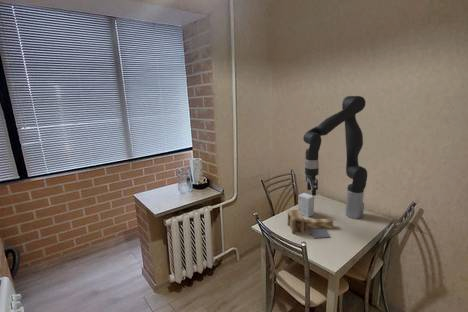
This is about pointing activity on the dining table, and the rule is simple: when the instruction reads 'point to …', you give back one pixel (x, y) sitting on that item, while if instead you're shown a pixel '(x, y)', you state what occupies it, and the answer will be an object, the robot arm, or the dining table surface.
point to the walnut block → (297, 225)
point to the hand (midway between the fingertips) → (311, 192)
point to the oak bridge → (295, 219)
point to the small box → (306, 204)
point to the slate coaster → (319, 233)
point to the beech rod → (318, 223)
